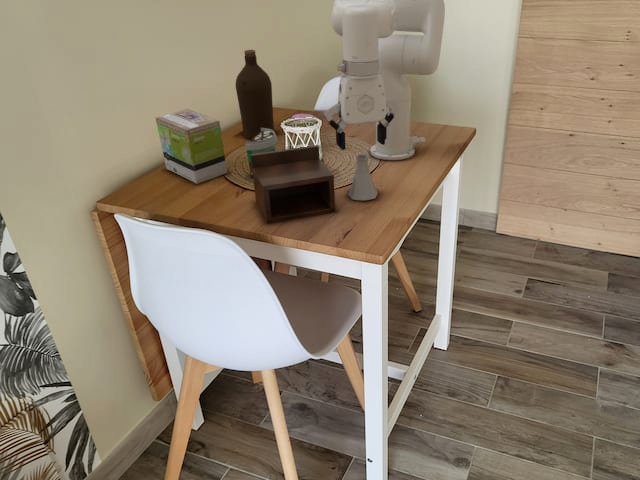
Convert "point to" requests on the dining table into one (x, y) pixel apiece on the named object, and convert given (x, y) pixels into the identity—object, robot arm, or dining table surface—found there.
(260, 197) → the spice shelf
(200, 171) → the tea box
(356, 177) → the flask
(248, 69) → the olive oil
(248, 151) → the food container
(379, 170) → the dining table surface
